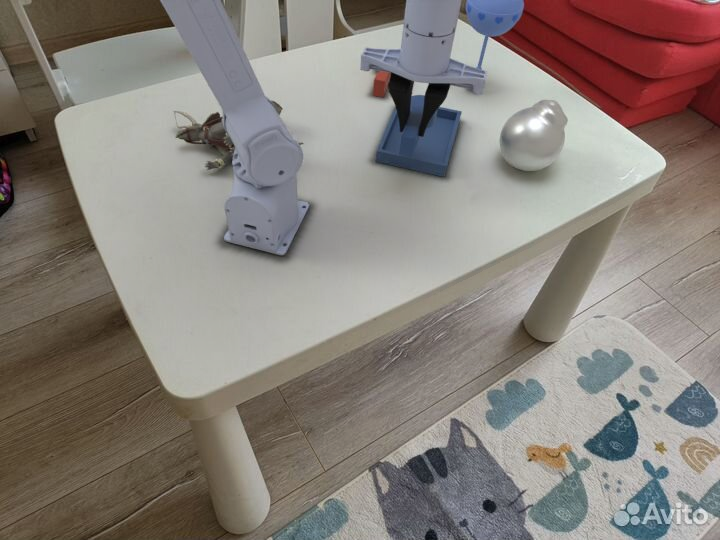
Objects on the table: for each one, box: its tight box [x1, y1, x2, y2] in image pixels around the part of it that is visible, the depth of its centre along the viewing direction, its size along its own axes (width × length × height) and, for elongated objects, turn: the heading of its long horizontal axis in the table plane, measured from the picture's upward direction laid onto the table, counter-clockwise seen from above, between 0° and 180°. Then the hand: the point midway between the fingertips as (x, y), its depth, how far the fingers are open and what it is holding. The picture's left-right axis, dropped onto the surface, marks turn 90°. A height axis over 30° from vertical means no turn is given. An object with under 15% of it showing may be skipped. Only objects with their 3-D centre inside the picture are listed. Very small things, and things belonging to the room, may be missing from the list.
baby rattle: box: [465, 0, 525, 70], centre depth 83 cm, size 9×9×18 cm
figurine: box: [172, 99, 304, 171], centre depth 75 cm, size 20×6×17 cm
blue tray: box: [375, 106, 462, 178], centre depth 78 cm, size 14×10×2 cm
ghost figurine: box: [499, 99, 569, 172], centre depth 73 cm, size 9×10×10 cm
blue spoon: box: [399, 94, 438, 158], centre depth 68 cm, size 11×4×3 cm, turn 164°
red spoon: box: [372, 71, 391, 98], centre depth 88 cm, size 11×4×3 cm, turn 164°
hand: (413, 130), depth 67 cm, fingers closed on blue spoon, 2 cm apart
